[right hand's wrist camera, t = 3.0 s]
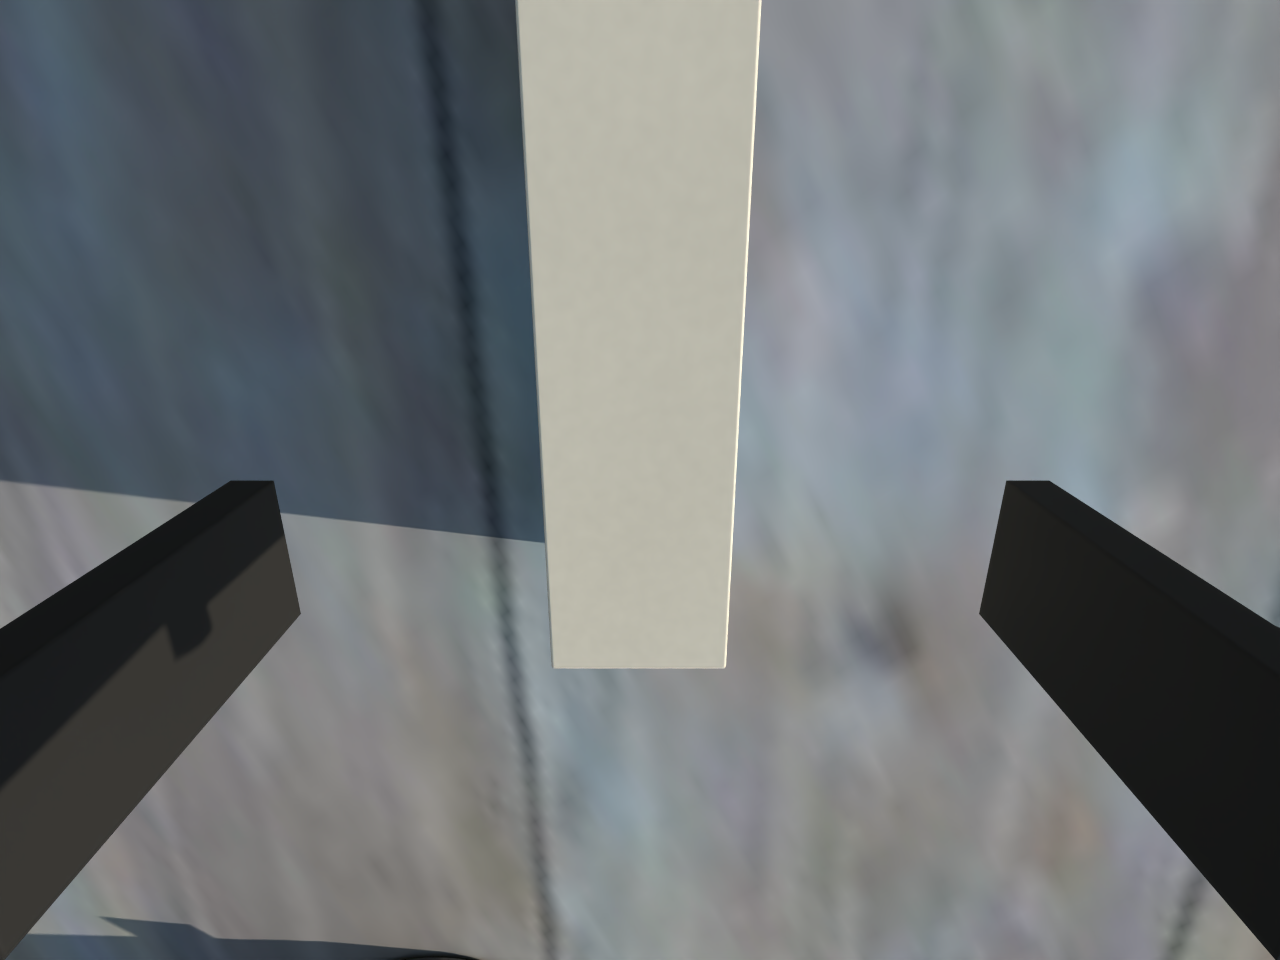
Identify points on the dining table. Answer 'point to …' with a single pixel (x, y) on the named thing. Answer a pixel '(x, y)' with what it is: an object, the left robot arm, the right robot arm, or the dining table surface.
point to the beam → (638, 314)
